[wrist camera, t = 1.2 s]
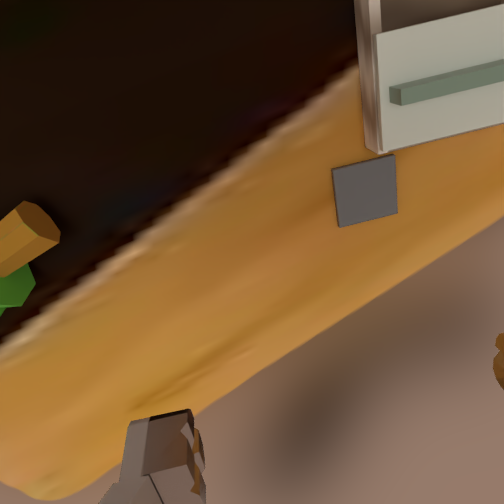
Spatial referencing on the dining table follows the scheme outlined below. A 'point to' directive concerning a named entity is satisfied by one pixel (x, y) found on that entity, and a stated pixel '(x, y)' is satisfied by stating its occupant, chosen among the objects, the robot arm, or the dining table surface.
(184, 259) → the dining table surface
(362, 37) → the sliding lid box
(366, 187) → the slate tile
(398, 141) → the sliding lid panel
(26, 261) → the decorative tree
